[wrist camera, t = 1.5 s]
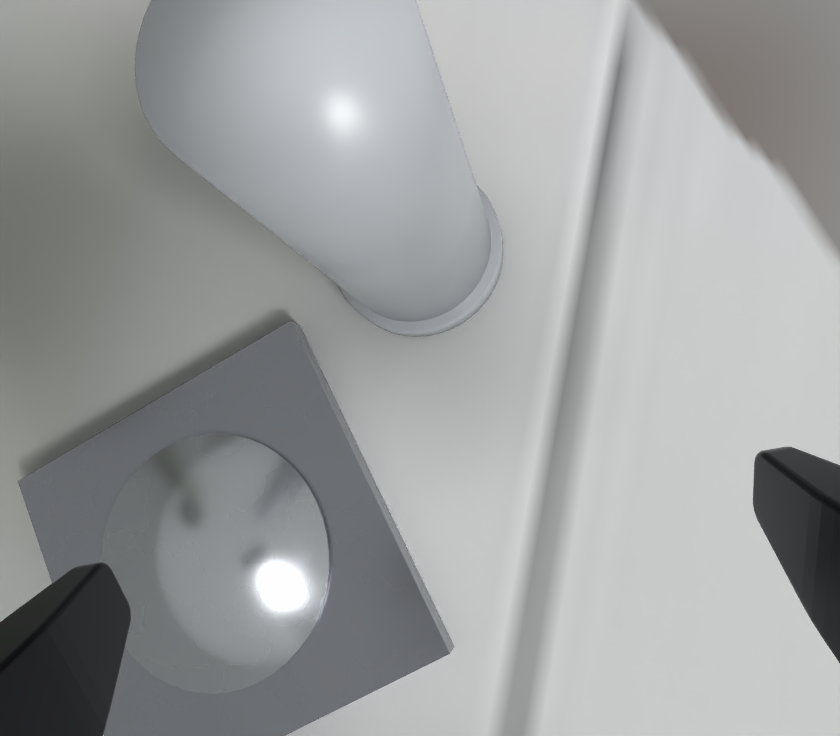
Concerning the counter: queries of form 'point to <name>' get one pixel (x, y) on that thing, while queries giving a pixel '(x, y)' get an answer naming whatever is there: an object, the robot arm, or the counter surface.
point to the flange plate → (240, 551)
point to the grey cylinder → (329, 144)
